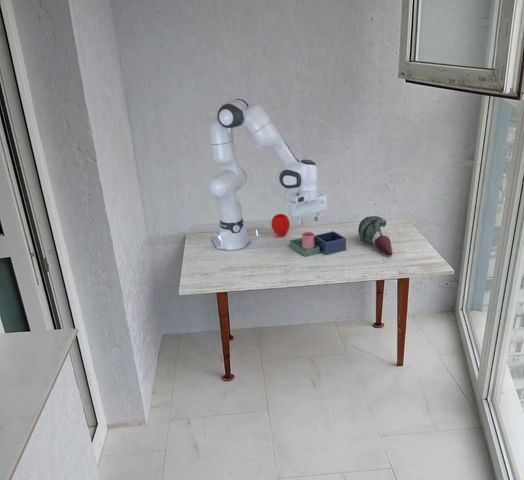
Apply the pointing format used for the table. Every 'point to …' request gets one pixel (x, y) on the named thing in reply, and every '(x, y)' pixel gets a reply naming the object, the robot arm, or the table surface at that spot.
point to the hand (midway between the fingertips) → (308, 222)
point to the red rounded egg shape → (280, 224)
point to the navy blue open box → (330, 242)
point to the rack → (299, 248)
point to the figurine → (375, 233)
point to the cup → (308, 240)
